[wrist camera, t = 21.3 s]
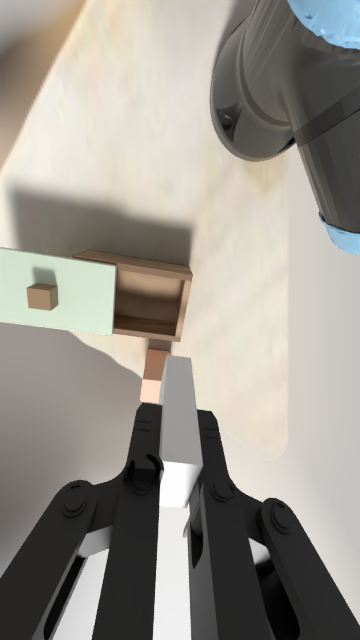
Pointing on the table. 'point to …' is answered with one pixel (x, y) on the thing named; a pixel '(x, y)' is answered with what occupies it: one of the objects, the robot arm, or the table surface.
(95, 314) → the lid
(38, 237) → the table surface
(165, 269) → the wooden box
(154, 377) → the key block
